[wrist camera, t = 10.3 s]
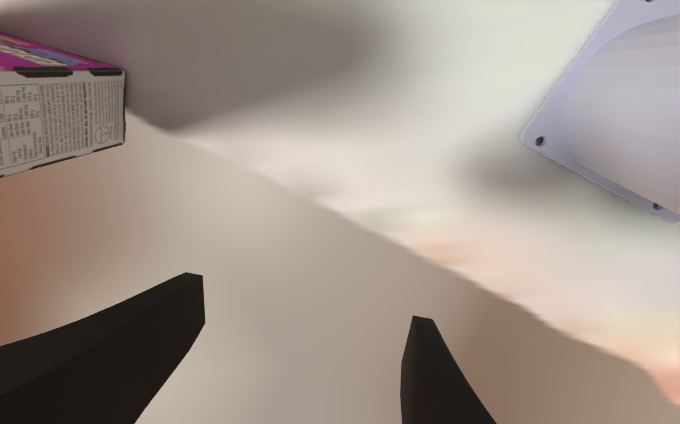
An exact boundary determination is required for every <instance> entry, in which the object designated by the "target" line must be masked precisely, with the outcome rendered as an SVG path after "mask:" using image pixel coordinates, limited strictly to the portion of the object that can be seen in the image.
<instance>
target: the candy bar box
mask: <svg viewBox="0 0 680 424" xmlns="http://www.w3.org/2000/svg"><path fill="white" fill-rule="evenodd" d="M125 131H126V123H125V70H124V69H122V68H119V67H115V66H112V65H108V64H105V63H102V62H98V61H95V60H91V59H88V58H85V57H81V56H78V55H74V54H71V53H68V52H64V51H61V50H57V49H54V48H50V47H47V46H43V45H40V44H37V43H33V42H30V41H26V40H23V39H20V38H16V37H13V36H10V35H7V34H3V33H0V178H2V177H7V176H10V175H13V174H17V173H21V172H24V171H26V170H31V169H34V168H38V167H42V166H46V165H49V164H53V163H57V162H60V161H64V160H68V159H72V158H76V157H79V156H83V155H87V154H90V153H93V152H97V151H101V150H105V149H108V148H112V147H116V146H119V145H122V144H124V142H125Z"/></svg>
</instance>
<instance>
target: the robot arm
mask: <svg viewBox="0 0 680 424" xmlns="http://www.w3.org/2000/svg"><path fill="white" fill-rule="evenodd" d="M541 136H542V137H543V138H544V141H543V143H542V144H540V145H536V143H535V141H536V139H537V138H538V137H541ZM520 141H521V143H523V144H524V145H526V146H527V147H529V148H531V149H533V150H535V151H537V152H539V153H540V154H542V155H544V156H546V157H548V158H550V159H552V160H553V161H555V162H557V163H559V164H561V165H563V166H565V167H566V168H568V169H570V170H572V171H574V172H576V173H578V174H579V175H581V176H583V177H585V178H587V179H589V180H591V181H592V182H594V183H596V184H598V185H600V186H602V187H604V188H605V189H607V190H609V191H611V192H613V193H615V194H617V195H618V196H620V197H622V198H624V199H626V200H628V201H630V202H631V203H633V204H635V205H637V206H639V207H641V208H643V209H644V210H646V211H648V212H650V213H652V214H654V215H656V216H657V217H659V218H661V219H663V220H665V221H667V222H670V223H675V222H678V221H680V0H650V1H649V2H646V1H645V0H616V1H615V2H614V4H613V5H612V6H611V8H610V9H609V11H608V12H607V13H606V15H605V16H604V18H603V19H602V20H601V22H600V23H599V24H598V26H597V27H596V29H595V30H594V31H593V33H592V34H591V36H590V37H589V38H588V40H587V41H586V43H585V44H584V45H583V47H582V48H581V49H580V51H579V52H578V54H577V55H576V56H575V58H574V59H573V61H572V62H571V63H570V65H569V66H568V68H567V69H566V70H565V72H564V73H563V74H562V76H561V77H560V79H559V80H558V81H557V83H556V84H555V86H554V87H553V88H552V90H551V91H550V93H549V94H548V95H547V97H546V98H545V100H544V101H543V102H542V104H541V105H540V106H539V108H538V109H537V111H536V112H535V113H534V115H533V116H532V118H531V119H530V120H529V122H528V123H527V125H526V126H525V127H524V129H523V130H522V132H521V134H520ZM654 203H656V204H658V205H657V206H656V207H653V205H654ZM204 324H205V310H204V292H203V276H202V275H197V274H192V273H187V272H186V273H183V274H181V275H178V276H176V277H174V278H172V279H169V280H167V281H165V282H163V283H161V284H159V285H157V286H155V287H153V288H150V289H149V290H146V291H144V292H142V293H140V294H138V295H136V296H133V297H131V298H129V299H127V300H125V301H123V302H120V303H118V304H116V305H113V306H111V307H109V308H106V309H104V310H102V311H99V312H97V313H95V314H93V315H90V316H88V317H86V318H83V319H80V320H78V321H76V322H73V323H70V324H67V325H65V326H62V327H59V328H56V329H53V330H51V331H48V332H45V333H42V334H39V335H36V336H33V337H30V338H26V339H23V340H20V341H16V342H13V343H10V344H6V345H3V346H0V424H134V423H135V422H136V421H137V419H138V418H139V416H140V415H141V414H142V412H143V411H144V409H145V408H146V407H147V405H148V404H149V403H150V401H151V400H152V399H153V398H154V396H155V395H156V394H157V392H158V391H159V390H160V388H161V387H162V386H163V384H164V383H165V382H166V381H167V379H168V378H169V376H170V375H171V374H172V373H173V371H174V370H175V369H176V367H177V366H178V365H179V363H180V362H181V361H182V359H183V358H184V357H185V355H186V354H187V353H188V351H189V350H190V348H191V347H192V345H193V343H194V342H195V340H196V338H197V337H198V335H199V333H200V331H201V330H202V328H203V326H204ZM400 397H401V413H402V424H496V422H495V421H494V419H493V418H492V417H491V415H490V414H489V413H488V411H487V410H486V408H485V407H484V406H483V404H482V403H481V401H480V400H479V398H478V397H477V395H476V394H475V392H474V391H473V389H472V388H471V387H470V385H469V383H468V382H467V380H466V378H465V377H464V375H463V373H462V372H461V370H460V368H459V367H458V365H457V363H456V362H455V360H454V359H453V356H452V355H451V353H450V351H449V349H448V347H447V346H446V344H445V342H444V340H443V338H442V336H441V334H440V332H439V330H438V328H437V326H436V324H435V323H434V321H433V320H432V319H429V318H423V317H418V316H413V318H412V322H411V326H410V330H409V334H408V338H407V343H406V347H405V351H404V355H403V359H402V365H401V390H400Z"/></svg>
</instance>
